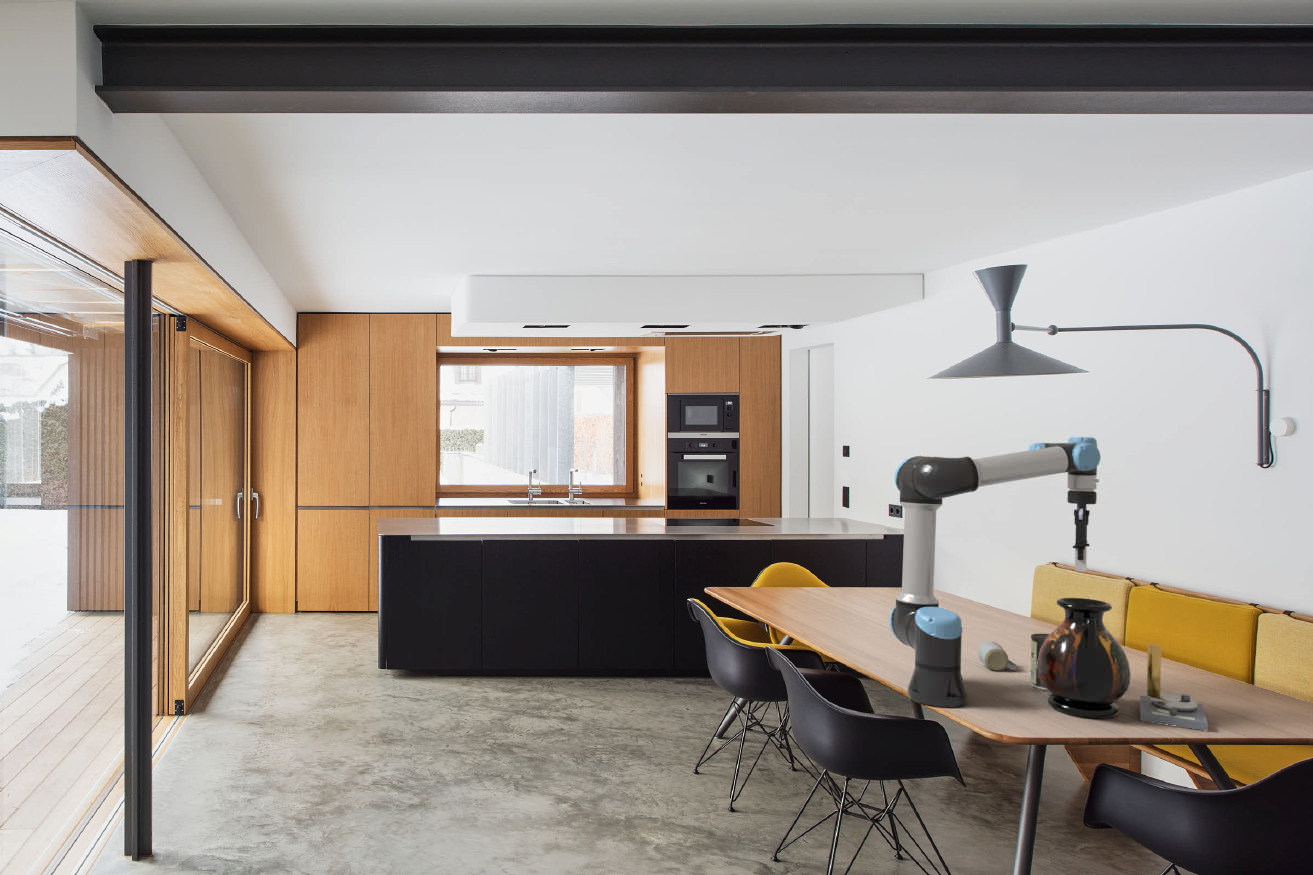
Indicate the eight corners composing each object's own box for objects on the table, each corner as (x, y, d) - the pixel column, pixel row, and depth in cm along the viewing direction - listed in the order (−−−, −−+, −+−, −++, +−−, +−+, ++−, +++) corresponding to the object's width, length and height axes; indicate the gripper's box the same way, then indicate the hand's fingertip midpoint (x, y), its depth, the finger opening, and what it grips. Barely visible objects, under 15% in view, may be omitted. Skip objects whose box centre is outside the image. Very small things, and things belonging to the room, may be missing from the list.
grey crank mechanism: (1207, 731, 199) (1207, 715, 199) (1140, 720, 206) (1140, 705, 206) (1201, 711, 215) (1202, 697, 215) (1139, 702, 222) (1139, 688, 222)
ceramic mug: (984, 671, 251) (985, 645, 251) (977, 664, 259) (978, 639, 259) (1021, 673, 249) (1021, 648, 250) (1012, 666, 258) (1013, 642, 258)
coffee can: (1078, 690, 232) (1079, 640, 232) (1047, 693, 229) (1048, 641, 229) (1051, 680, 242) (1052, 632, 242) (1022, 682, 239) (1022, 633, 239)
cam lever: (1198, 713, 205) (1199, 655, 206) (1147, 706, 211) (1147, 648, 211) (1195, 703, 214) (1196, 647, 214) (1146, 696, 219) (1147, 641, 220)
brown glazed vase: (1141, 727, 201) (1142, 612, 201) (1044, 717, 207) (1046, 605, 207) (1117, 702, 222) (1118, 597, 222) (1030, 693, 228) (1032, 592, 228)
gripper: (1095, 491, 231) (1094, 574, 230) (1097, 489, 247) (1096, 567, 246) (1065, 490, 234) (1064, 572, 234) (1069, 488, 250) (1068, 565, 250)
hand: (1080, 569), depth 240 cm, fingers open, 6 cm apart
